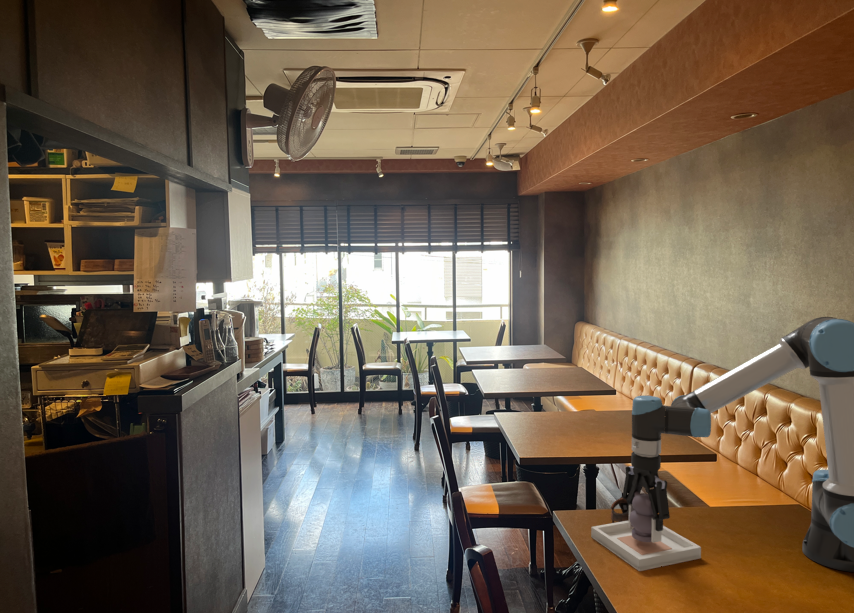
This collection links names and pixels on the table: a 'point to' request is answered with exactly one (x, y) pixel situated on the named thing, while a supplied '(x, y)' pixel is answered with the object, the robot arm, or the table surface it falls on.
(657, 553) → the tray
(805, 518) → the table surface
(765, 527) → the table surface
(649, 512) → the cat figurine
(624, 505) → the pottery mug
